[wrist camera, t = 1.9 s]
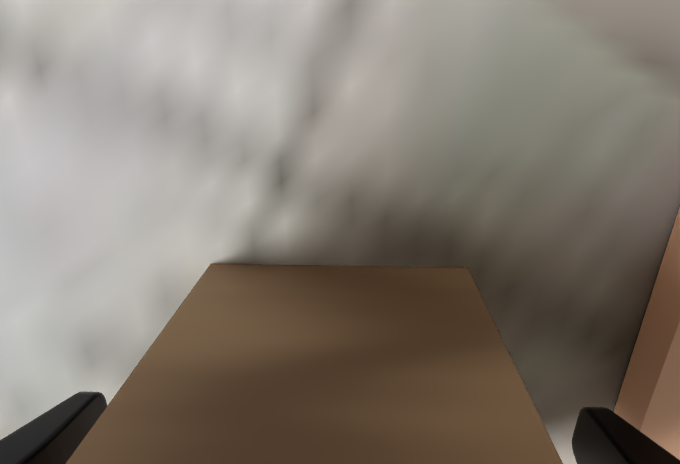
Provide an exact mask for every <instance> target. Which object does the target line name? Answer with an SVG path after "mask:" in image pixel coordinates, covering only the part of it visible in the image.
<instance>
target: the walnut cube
mask: <svg viewBox="0 0 680 464" xmlns="http://www.w3.org/2000/svg"><path fill="white" fill-rule="evenodd" d="M66 464H563V463H562V461H561V459H560V457H559V455H558V453H557V451H556V449H555V446H554V444H553V442H552V440H551V438H550V436H549V434H548V432H547V430H546V428H545V426H544V424H543V422H542V420H541V418H540V416H539V414H538V412H537V409H536V407H535V405H534V403H533V401H532V399H531V397H530V395H529V393H528V391H527V389H526V387H525V385H524V383H523V381H522V379H521V377H520V374H519V372H518V370H517V368H516V366H515V364H514V362H513V360H512V358H511V356H510V354H509V352H508V350H507V348H506V346H505V344H504V342H503V340H502V337H501V335H500V333H499V331H498V329H497V327H496V325H495V323H494V321H493V319H492V317H491V315H490V313H489V311H488V309H487V307H486V305H485V302H484V300H483V298H482V296H481V294H480V292H479V290H478V288H477V286H476V284H475V282H474V280H473V278H472V276H471V274H470V272H469V270H468V268H451V267H385V266H320V265H254V264H210V266H209V267H208V268H207V270H206V271H205V273H204V274H203V275H202V277H201V278H200V279H199V281H198V282H197V284H196V285H195V286H194V288H193V289H192V290H191V292H190V293H189V295H188V296H187V297H186V299H185V300H184V301H183V303H182V304H181V306H180V307H179V308H178V310H177V311H176V312H175V314H174V315H173V317H172V318H171V319H170V321H169V322H168V323H167V325H166V326H165V328H164V329H163V330H162V332H161V333H160V334H159V336H158V337H157V339H156V340H155V341H154V343H153V344H152V345H151V347H150V348H149V350H148V351H147V352H146V354H145V355H144V356H143V358H142V359H141V361H140V362H139V363H138V365H137V366H136V367H135V369H134V370H133V372H132V373H131V374H130V376H129V377H128V379H127V380H126V381H125V383H124V384H123V385H122V387H121V388H120V390H119V391H118V392H117V394H116V395H115V396H114V398H113V399H112V401H111V402H110V403H109V405H108V406H107V407H106V409H105V410H104V412H103V413H102V414H101V416H100V417H99V418H98V420H97V421H96V423H95V424H94V425H93V427H92V428H91V429H90V431H89V432H88V434H87V435H86V436H85V438H84V439H83V440H82V442H81V443H80V445H79V446H78V447H77V449H76V450H75V451H74V453H73V454H72V456H71V457H70V458H69V460H68V461H67V462H66Z"/></svg>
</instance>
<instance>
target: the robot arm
mask: <svg viewBox="0 0 680 464" xmlns="http://www.w3.org/2000/svg"><path fill="white" fill-rule="evenodd" d="M106 407H107V403H106V399H105V397H104V395H103V394H102V393H100V392H79V393H77V394H75V395H73V396H71V397H70V398H68V399H67V400H65V401H63V402H62V403H60V404H58V405H57V406H55V407H54V408H52V409H50V410H49V411H47V412H45V413H44V414H42V415H41V416H39V417H37V418H36V419H34V420H33V421H31V422H29V423H28V424H26V425H24V426H23V427H21V428H20V429H18V430H16V431H15V432H13V433H11V434H10V435H8V436H7V437H5V438H3V439H2V440H0V464H66V462H67V461H68V460H69V458H70V457H71V456H72V454H73V453H74V451H75V450H76V449H77V447H78V446H79V445H80V443H81V442H82V440H83V439H84V438H85V436H86V435H87V434H88V432H89V431H90V429H91V428H92V427H93V425H94V424H95V423H96V421H97V420H98V418H99V417H100V416H101V414H102V413H103V412H104V410H105V409H106ZM572 448H573V453H574V456H575V459H576V462H577V464H680V460H679V459H678V458H676V457H675V456H674V455H672V454H671V453H669V452H668V451H667V450H665V449H664V448H662V447H661V446H660V445H658V444H657V443H656V442H654V441H653V440H651V439H650V438H649V437H647V436H646V435H645V434H643V433H642V432H640V431H639V430H638V429H636V428H635V427H634V426H632V425H631V424H629V423H628V422H627V421H625V420H624V419H623V418H621V417H620V416H618V415H617V414H616V413H614V412H613V411H611V410H610V409H608V408H605V407H583V408H582V409H581V410H580V413H579V416H578V419H577V423H576V427H575V430H574V434H573V438H572Z"/></svg>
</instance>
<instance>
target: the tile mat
mask: <svg viewBox="0 0 680 464" xmlns="http://www.w3.org/2000/svg"><path fill="white" fill-rule="evenodd" d="M614 413H616V414H617V415H618V416H620V417H621V418H623V419H624V420H625V421H627V422H628V423H629V424H631V425H632V426H634V427H635V428H636V429H638V430H639V431H640V432H642V433H643V434H645V435H646V436H647V437H649V438H650V439H651V440H653V441H654V442H656V443H657V444H658V445H660V446H661V447H662V448H664V449H665V450H667V451H668V452H669V453H671V454H672V455H674V456H675V457H676V458H678V459H679V460H680V207H679V210H678V214H677V217H676V220H675V223H674V226H673V229H672V232H671V235H670V238H669V241H668V244H667V248H666V251H665V254H664V257H663V260H662V263H661V266H660V269H659V272H658V275H657V279H656V282H655V285H654V288H653V291H652V294H651V297H650V300H649V303H648V306H647V310H646V313H645V316H644V319H643V322H642V325H641V328H640V331H639V334H638V337H637V341H636V344H635V347H634V350H633V353H632V356H631V359H630V362H629V365H628V368H627V371H626V375H625V378H624V381H623V384H622V387H621V390H620V393H619V396H618V399H617V402H616V406H615V409H614Z"/></svg>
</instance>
